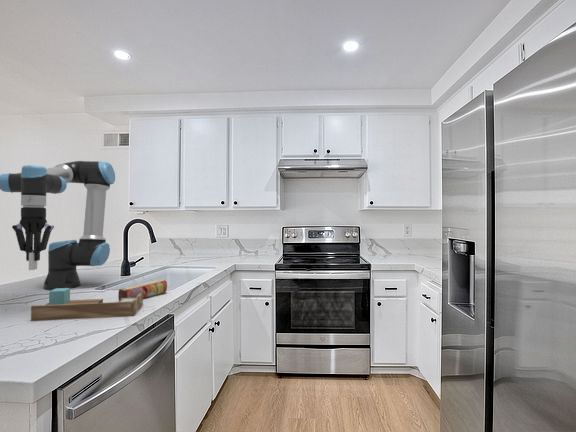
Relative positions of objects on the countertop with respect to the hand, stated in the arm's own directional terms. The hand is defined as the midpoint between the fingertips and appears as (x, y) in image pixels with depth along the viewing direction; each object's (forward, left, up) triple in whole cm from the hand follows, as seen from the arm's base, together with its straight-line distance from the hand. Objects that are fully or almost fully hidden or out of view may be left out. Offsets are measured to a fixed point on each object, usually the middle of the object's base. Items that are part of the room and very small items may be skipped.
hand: (32, 269), depth 122 cm
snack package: (-16, +36, -16) cm, 42 cm away
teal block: (0, +9, -13) cm, 16 cm away
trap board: (+3, +21, -16) cm, 27 cm away
